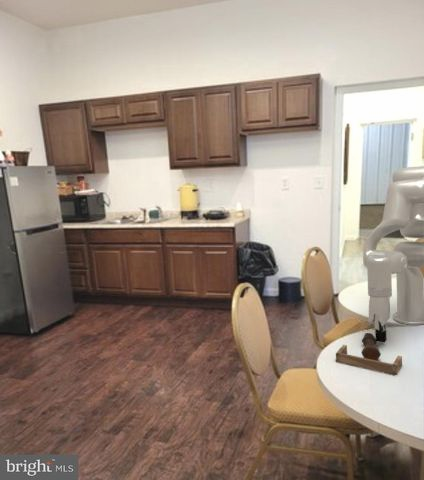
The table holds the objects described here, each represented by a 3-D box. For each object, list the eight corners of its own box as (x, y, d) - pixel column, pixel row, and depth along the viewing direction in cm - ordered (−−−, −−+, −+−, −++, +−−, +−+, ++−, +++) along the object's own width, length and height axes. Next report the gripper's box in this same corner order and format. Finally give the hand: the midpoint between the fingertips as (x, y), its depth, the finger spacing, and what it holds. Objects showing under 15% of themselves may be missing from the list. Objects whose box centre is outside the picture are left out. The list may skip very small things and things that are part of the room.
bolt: (371, 346, 136) (374, 365, 122) (358, 339, 137) (359, 357, 123) (379, 333, 134) (383, 351, 121) (366, 326, 136) (368, 343, 122)
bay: (343, 352, 130) (343, 344, 129) (402, 365, 118) (401, 356, 118) (336, 361, 124) (335, 353, 124) (396, 375, 113) (396, 366, 112)
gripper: (374, 284, 138) (376, 331, 141) (361, 296, 126) (363, 347, 129) (396, 286, 133) (397, 334, 136) (385, 299, 122) (386, 352, 125)
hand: (381, 340), depth 133 cm, fingers closed
